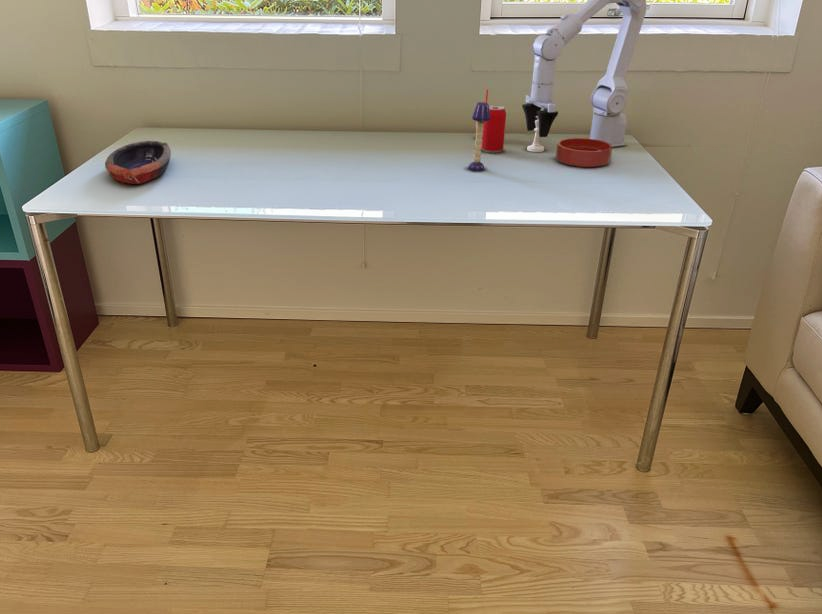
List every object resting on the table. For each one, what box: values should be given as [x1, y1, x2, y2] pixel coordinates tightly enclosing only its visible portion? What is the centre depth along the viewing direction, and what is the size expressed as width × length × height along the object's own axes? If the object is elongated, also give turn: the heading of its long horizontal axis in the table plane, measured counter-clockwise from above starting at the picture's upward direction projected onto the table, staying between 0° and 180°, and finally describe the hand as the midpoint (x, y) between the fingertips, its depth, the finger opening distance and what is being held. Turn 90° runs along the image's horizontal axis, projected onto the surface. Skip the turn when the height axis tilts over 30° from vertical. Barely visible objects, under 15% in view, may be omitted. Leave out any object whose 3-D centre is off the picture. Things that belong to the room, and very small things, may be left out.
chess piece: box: [526, 116, 545, 153], centre depth 205 cm, size 5×5×10 cm
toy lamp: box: [467, 101, 490, 172], centre depth 186 cm, size 5×5×17 cm
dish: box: [104, 140, 172, 185], centre depth 186 cm, size 16×31×5 cm, turn 4°
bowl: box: [555, 137, 613, 168], centre depth 196 cm, size 14×14×4 cm
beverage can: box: [481, 104, 507, 154], centre depth 203 cm, size 6×6×12 cm
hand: (537, 133), depth 205 cm, fingers open, 7 cm apart
